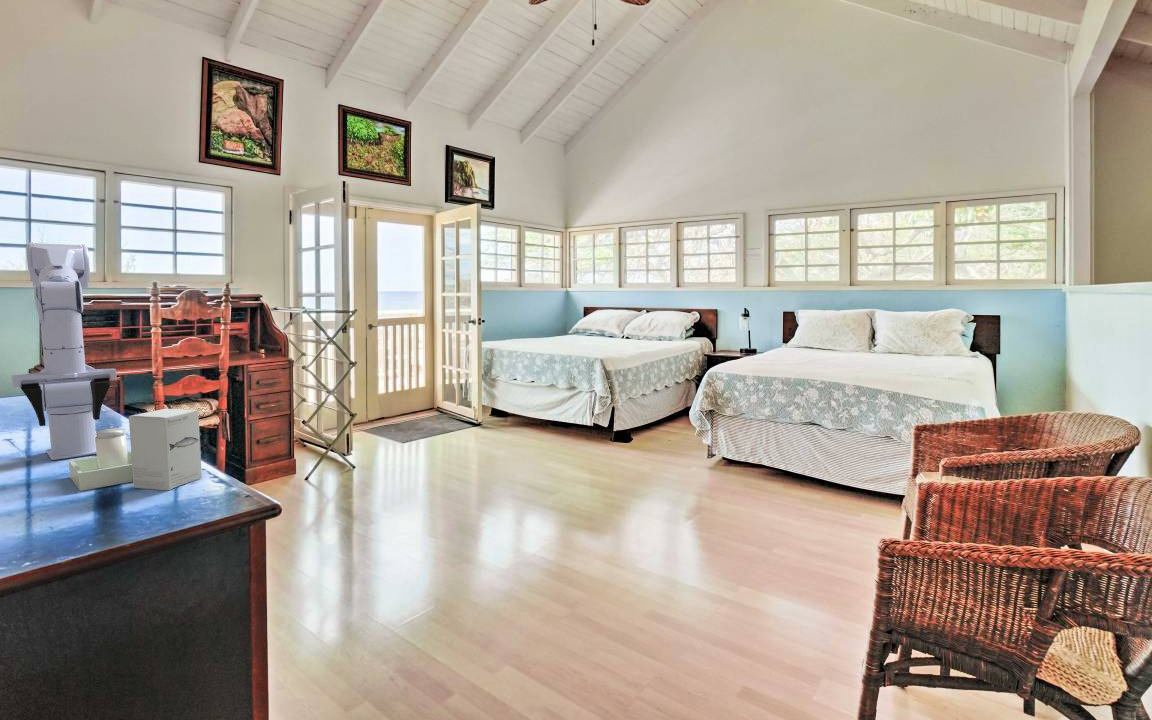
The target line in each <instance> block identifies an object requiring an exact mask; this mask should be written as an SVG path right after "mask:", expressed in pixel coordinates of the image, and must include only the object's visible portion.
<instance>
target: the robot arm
mask: <svg viewBox="0 0 1152 720" xmlns="http://www.w3.org/2000/svg"><path fill="white" fill-rule="evenodd" d="M25 247H26V263H27V268H28V271H29V276H30V281H31V283H32V286H33V287H34V288H33V290H34V291H33V293H34V304H35V309H36V311H37V315H38V322H39V324H40V325H41V326H40V333H41V342H42V353H43V354H42V355H43V356H42V357H43V365H44V366H43V367H44V368H43V369H42V370H40V371H39V372H36V373H25V374H13V375H11V377H10V378H11V385H12V388H20V389H21V391H22V392H23V394H24V395H25V396H26V398H27V399H28V401H29V403H30V404H31V406H32V408H33V410H34V412H35V415H36V417H37V420H38V425H39V426H40V427H45V426H46V417H45V413H44V412H46V414H47V418H48V420H47V421H48V428H49V439H50V448H48V449H45V452H46V454H47V456H48V457H49V459H50V460H51V461H56V460H62V459H63V460H64V459H70V458H77V457H83V456H90V455H97V454H96V442H95V437H96V425H95V424H96V423H95V421H98V420H100V419H101V418H100V417H101V409H102V406H103V402H104V400H105V398H106V395H107V393H108V390H109V389H110V387H111V385H112V383H111V381H113V380H118V379H117V369H116V368H113V367H112V368H100V369H99V368H97V369H96V368H94V367H92V366H89V365H88V364H86V357H85V356H86V355H85V345H84V344H85V343H84V335H83V320H82V318H83V317H82V314H81V313H84V297H83V296H84V295H83V290H84V289H87V288H89V283H90V258H89V257H90V256H89V247H88V246H87V245H86V244H84V243H83V244H81V245H80V244H65V243H64V244H60V243H39V242H38V243H35V242H30V241H29V242H28V243H27V244H26V246H25ZM78 311H79V312H78ZM80 312H81V313H80ZM110 380H111V381H110Z"/></svg>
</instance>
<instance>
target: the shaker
mask: <svg viewBox="0 0 1152 720" xmlns="http://www.w3.org/2000/svg"><path fill="white" fill-rule="evenodd" d="M95 433H96V437H95V442H96V454H95V455H96V457H97V466H98V469H104V468H110V467H117V466H123V465H128V454H127V452H128V444H127V443H128V442H127V434H126V433H125V428H120V427H118V428H117V427H116V428H106V429H101V430H97V431H95Z"/></svg>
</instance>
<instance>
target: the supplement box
mask: <svg viewBox="0 0 1152 720" xmlns="http://www.w3.org/2000/svg"><path fill="white" fill-rule="evenodd" d="M199 421H200V418H199V410H198V409H189V408H187V409H186V408H184V409H183V408H162V409H157V410H152V411H148V412H144V413H143V412H142V413H138V414H131V415H129V416H128V425H129V426H128V427H129V438H130V439H129V441H130V442H129V443H130V452H131V457H132V472H133V482H132V483H133V484H132V485H133V488H136V489H146V490H154V489H155V490H156V491H157V490H158V491H170V490H173V489H174V488H177V487H180V486H182V485H185V484H188V483H191V482H194V481H197V480H201V479H202V478H203V477H202V476H203V475H202V456H201V455H202V454H201V442H200V441H201V438H200V436H201V435H200V422H199Z"/></svg>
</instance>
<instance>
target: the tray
mask: <svg viewBox="0 0 1152 720" xmlns="http://www.w3.org/2000/svg"><path fill="white" fill-rule="evenodd" d="M127 454H128V465H123V466H117V467H110V468H104V469H98V466H97V456H92V457H91V456H90V457H84V458H79V459H72V460H68V468H69V478H70V479H71V480H72V482H73V483H74V485H75V486H76V488H77V490H79V492H81V491H88V490H93V489H98V488H105V487H110V486H116V485H120V484H121V485H122V484H126V483H133V472H132V457H131V451H127Z"/></svg>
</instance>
